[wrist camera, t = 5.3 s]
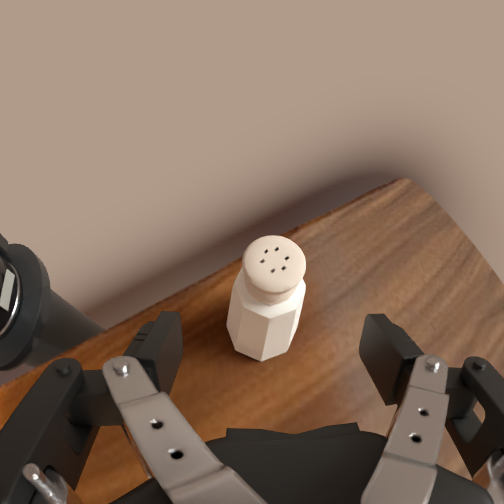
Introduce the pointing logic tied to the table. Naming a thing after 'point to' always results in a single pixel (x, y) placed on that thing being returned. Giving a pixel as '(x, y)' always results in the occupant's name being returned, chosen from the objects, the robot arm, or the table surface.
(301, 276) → the pepper shaker
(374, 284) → the table surface
